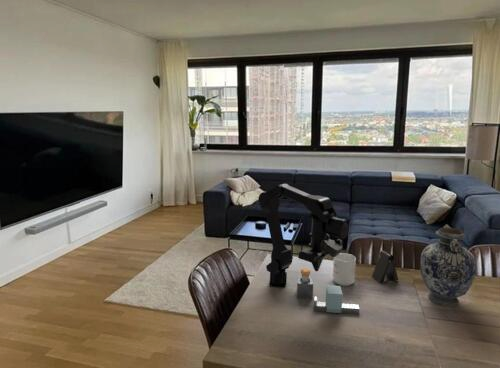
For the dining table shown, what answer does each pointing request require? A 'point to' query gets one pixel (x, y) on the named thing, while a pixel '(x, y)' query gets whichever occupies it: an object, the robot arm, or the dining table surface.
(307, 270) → the orange and white mushroom
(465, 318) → the dining table surface
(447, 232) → the decorative vase
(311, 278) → the grey hollow box
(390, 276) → the black tent sign
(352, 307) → the rail
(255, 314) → the dining table surface
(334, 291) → the grey block
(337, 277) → the mug
